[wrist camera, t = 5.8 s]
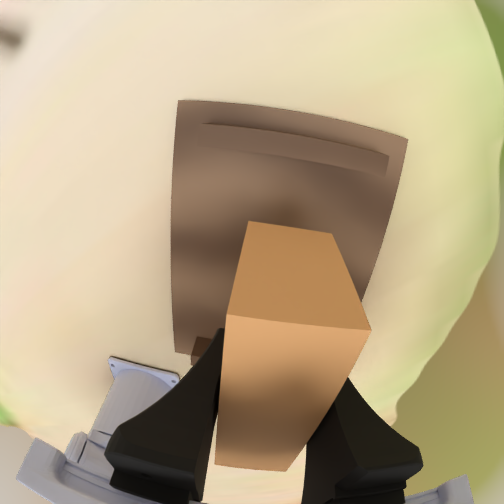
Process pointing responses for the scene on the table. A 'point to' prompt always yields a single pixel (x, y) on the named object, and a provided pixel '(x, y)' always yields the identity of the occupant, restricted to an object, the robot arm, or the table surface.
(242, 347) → the tall tan cuboid
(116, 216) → the table surface
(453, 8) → the table surface
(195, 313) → the walnut cradle
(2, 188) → the table surface
